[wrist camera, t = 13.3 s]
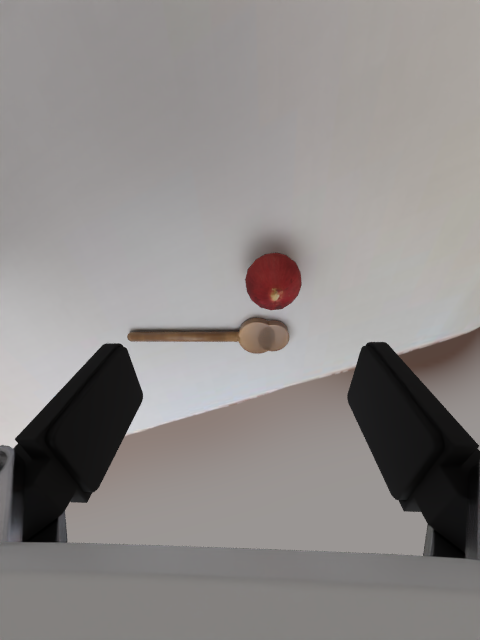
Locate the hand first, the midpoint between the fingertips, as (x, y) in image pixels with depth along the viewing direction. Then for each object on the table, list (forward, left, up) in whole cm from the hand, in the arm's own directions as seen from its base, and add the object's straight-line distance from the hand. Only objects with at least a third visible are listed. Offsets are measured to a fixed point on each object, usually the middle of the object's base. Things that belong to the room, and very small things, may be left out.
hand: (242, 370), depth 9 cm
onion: (+2, -2, -20) cm, 20 cm away
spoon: (-6, -11, -20) cm, 23 cm away
